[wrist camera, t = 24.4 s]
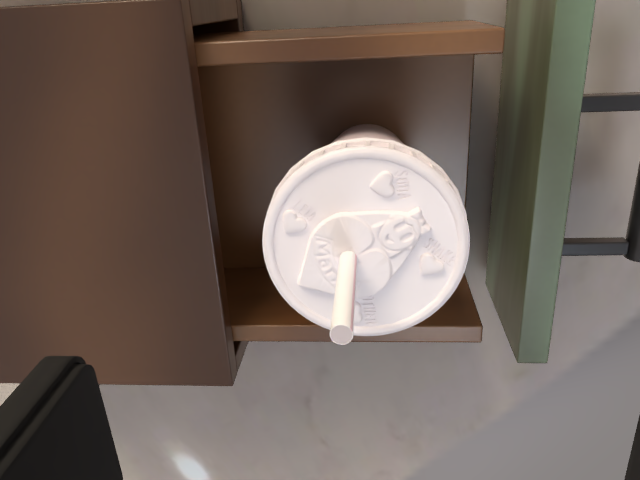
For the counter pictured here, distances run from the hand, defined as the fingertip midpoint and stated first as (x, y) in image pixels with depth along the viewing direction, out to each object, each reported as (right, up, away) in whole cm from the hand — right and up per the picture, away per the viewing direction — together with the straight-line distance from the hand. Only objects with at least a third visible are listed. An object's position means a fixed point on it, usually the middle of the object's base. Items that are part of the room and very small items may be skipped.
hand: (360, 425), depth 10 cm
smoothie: (+1, +7, +16) cm, 18 cm away
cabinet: (-12, +7, +19) cm, 24 cm away
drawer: (+3, +7, +17) cm, 19 cm away
